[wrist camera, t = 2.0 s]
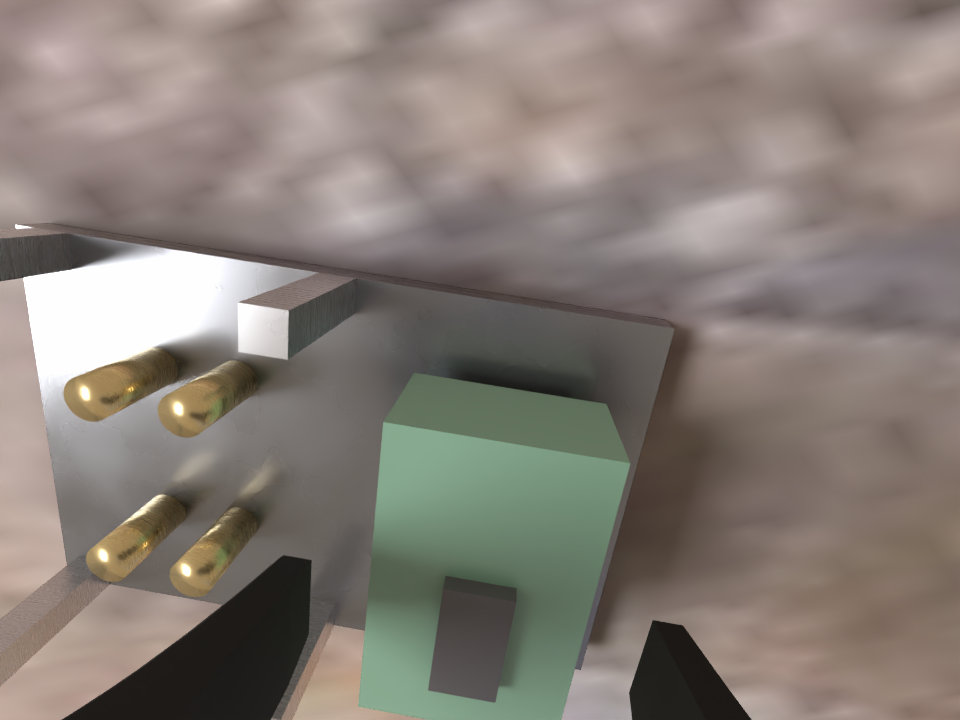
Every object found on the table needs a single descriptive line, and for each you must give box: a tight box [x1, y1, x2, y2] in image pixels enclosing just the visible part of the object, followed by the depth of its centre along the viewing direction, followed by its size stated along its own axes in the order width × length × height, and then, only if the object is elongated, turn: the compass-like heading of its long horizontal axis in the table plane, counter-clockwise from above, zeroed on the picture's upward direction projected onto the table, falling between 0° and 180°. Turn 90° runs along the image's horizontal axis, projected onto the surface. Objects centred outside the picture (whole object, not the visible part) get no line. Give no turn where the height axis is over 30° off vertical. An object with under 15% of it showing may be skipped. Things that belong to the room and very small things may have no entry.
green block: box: [358, 373, 630, 720], centre depth 12 cm, size 5×8×3 cm, turn 172°
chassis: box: [0, 223, 675, 720], centre depth 14 cm, size 18×12×5 cm, turn 82°
